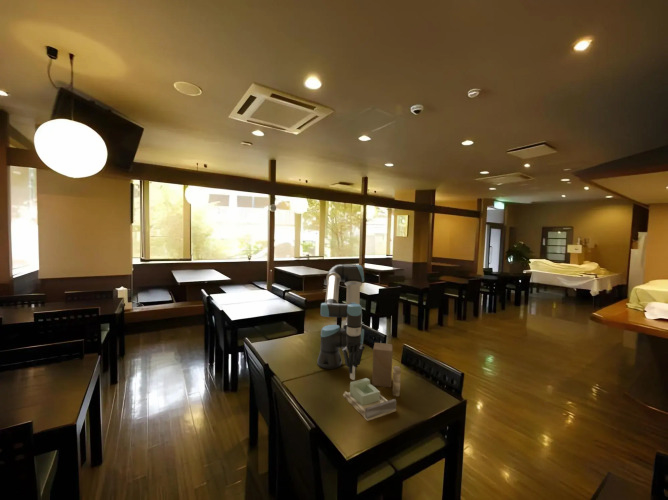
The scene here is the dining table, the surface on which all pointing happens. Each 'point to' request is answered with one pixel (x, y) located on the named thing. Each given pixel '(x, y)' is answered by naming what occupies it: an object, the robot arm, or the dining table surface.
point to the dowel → (396, 381)
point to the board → (372, 407)
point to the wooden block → (382, 365)
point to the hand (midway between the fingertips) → (352, 378)
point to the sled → (364, 391)
